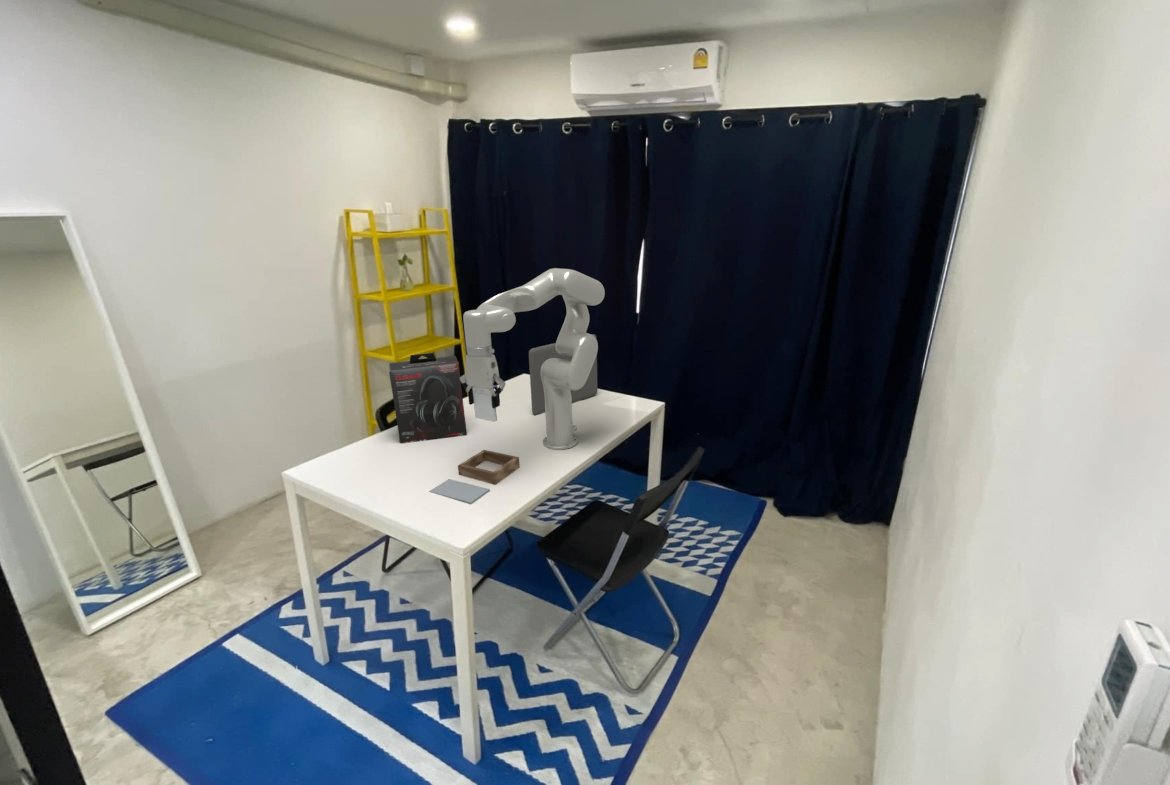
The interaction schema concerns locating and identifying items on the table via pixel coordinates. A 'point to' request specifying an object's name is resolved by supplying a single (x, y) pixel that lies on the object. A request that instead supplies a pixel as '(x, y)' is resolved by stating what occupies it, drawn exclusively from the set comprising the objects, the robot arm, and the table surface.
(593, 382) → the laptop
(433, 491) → the mat
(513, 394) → the table surface
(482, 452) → the wooden square frame
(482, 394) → the hard drive
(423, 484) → the table surface
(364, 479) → the table surface
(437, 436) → the headset box
